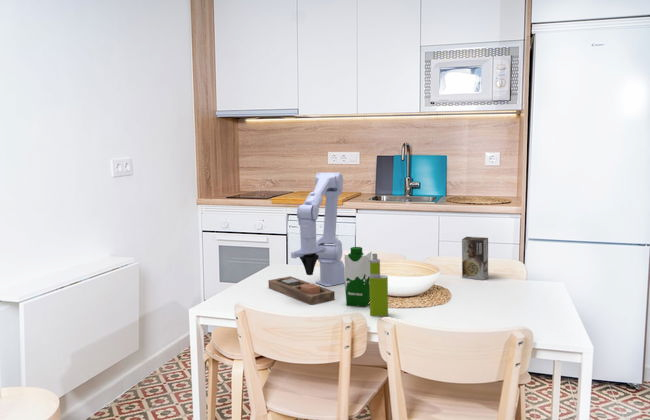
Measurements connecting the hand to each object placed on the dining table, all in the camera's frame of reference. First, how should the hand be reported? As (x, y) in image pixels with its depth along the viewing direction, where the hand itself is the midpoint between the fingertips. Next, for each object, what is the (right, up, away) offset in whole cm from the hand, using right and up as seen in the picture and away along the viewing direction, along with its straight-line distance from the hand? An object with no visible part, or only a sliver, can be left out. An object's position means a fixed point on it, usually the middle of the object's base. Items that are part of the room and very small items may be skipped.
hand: (309, 274), depth 204 cm
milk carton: (+17, -9, -8) cm, 21 cm away
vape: (+23, -11, -21) cm, 33 cm away
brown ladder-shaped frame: (-4, -8, +6) cm, 11 cm away
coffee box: (+66, -4, +23) cm, 70 cm away
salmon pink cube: (0, -8, +1) cm, 8 cm away
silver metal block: (-8, -7, +12) cm, 16 cm away
